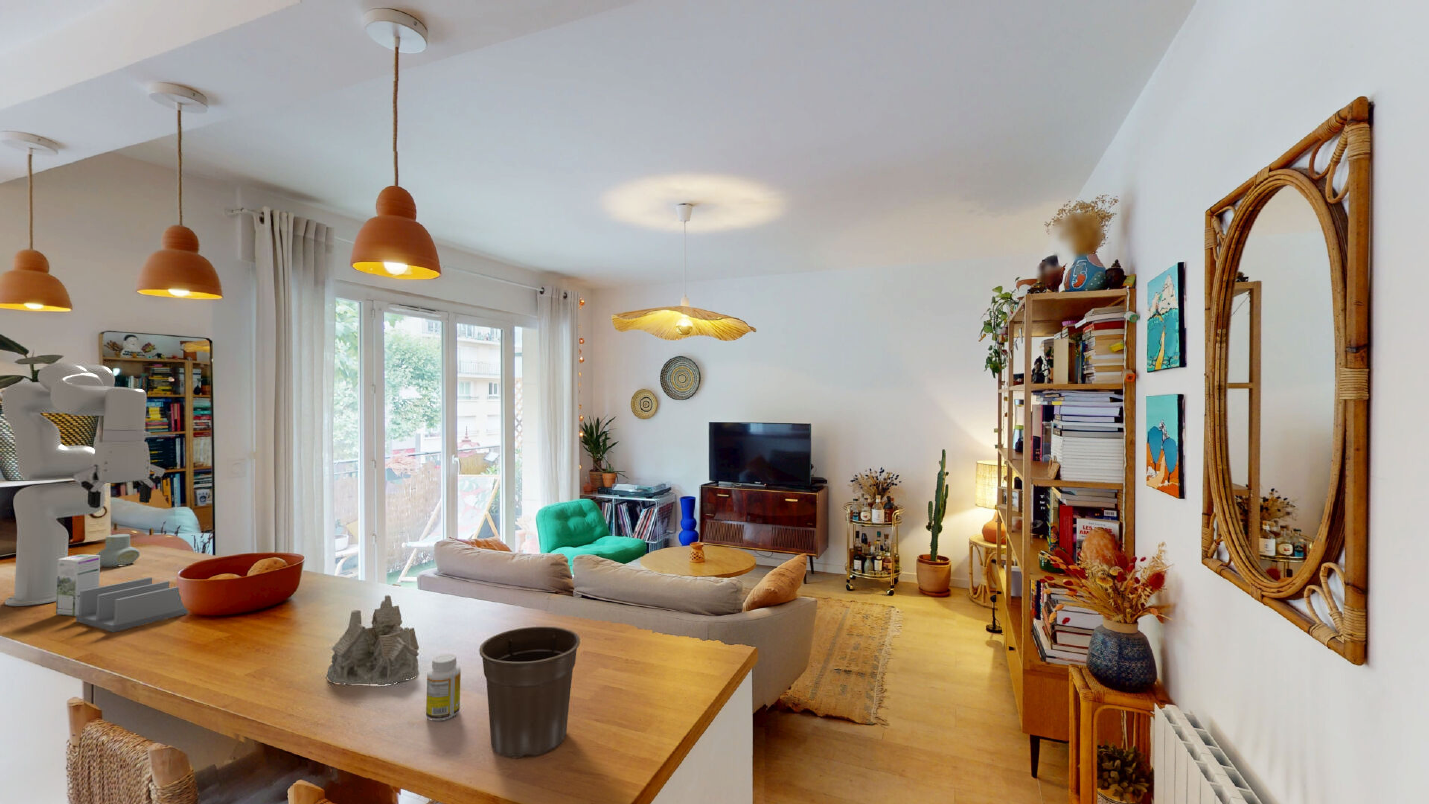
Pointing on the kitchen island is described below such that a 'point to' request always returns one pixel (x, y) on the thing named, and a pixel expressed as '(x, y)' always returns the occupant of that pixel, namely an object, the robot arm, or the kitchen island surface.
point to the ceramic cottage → (375, 650)
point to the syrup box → (75, 581)
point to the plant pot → (529, 688)
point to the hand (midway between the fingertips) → (120, 504)
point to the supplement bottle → (443, 688)
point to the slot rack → (129, 604)
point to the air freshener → (118, 551)
